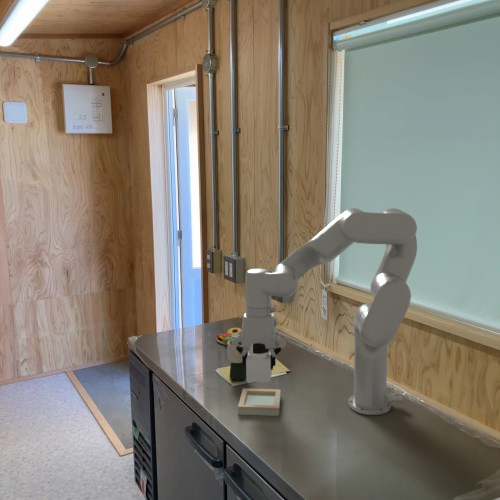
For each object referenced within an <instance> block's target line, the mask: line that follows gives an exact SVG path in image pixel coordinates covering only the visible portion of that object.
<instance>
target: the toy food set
mask: <svg viewBox="0 0 500 500" xmlns="http://www.w3.org/2000/svg"><path fill="white" fill-rule="evenodd" d="M241 334H242V328H239V327H231V328H228V329H227V332H225V333H221V334H217V335H216V338H215V339H216V341H217V342H218V343H219V344H221V345H223V346H227V342H228V341H229V340H232V339H235V338H237V337H238V336H239V335H241Z"/></svg>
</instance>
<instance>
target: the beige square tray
mask: <svg viewBox="0 0 500 500" xmlns="http://www.w3.org/2000/svg"><path fill="white" fill-rule="evenodd" d="M281 393H282V390H281V388H280V389H274V388H273V389H272V388H269V389H268V388H245V387H244V388H242V389H241V394H240V397H239V401H238V405H237V415H239V416H241V415H242V416H244V415H245V416H271V417H272V416H273V417H280V409H281V406H280V405H281V398H282V394H281Z"/></svg>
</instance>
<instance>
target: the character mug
mask: <svg viewBox="0 0 500 500" xmlns="http://www.w3.org/2000/svg"><path fill="white" fill-rule="evenodd" d="M233 340H234V339H232V340H229V341H228V342H227V345H226V346H227V349H226V351H227V360H228V362H229V363H230V369H229V378H230V379H231V380H235V381H236V380H240V379H241V380H245V379H246V369H245V368H244V365H242V355H241V354H240V353H239V352H238V351H237V350H236V348H235V347H234V346H233V345H232V341H233ZM238 344H239V345H240V346H241V347H242V348H244V347H243V346H242V340H241V341H239V342H238ZM248 351H249V350H248ZM248 351H247V353H248ZM241 380H240V381H241Z"/></svg>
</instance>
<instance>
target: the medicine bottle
mask: <svg viewBox="0 0 500 500" xmlns="http://www.w3.org/2000/svg"><path fill="white" fill-rule="evenodd" d="M270 357H271V353H270V351H269V349H266V347H265V345H264V344H261V343H255V344H252V345H251V348H250V349H248V355H247V359H246V382H247V383H271V379H272V371H273V370H271V358H270Z"/></svg>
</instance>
